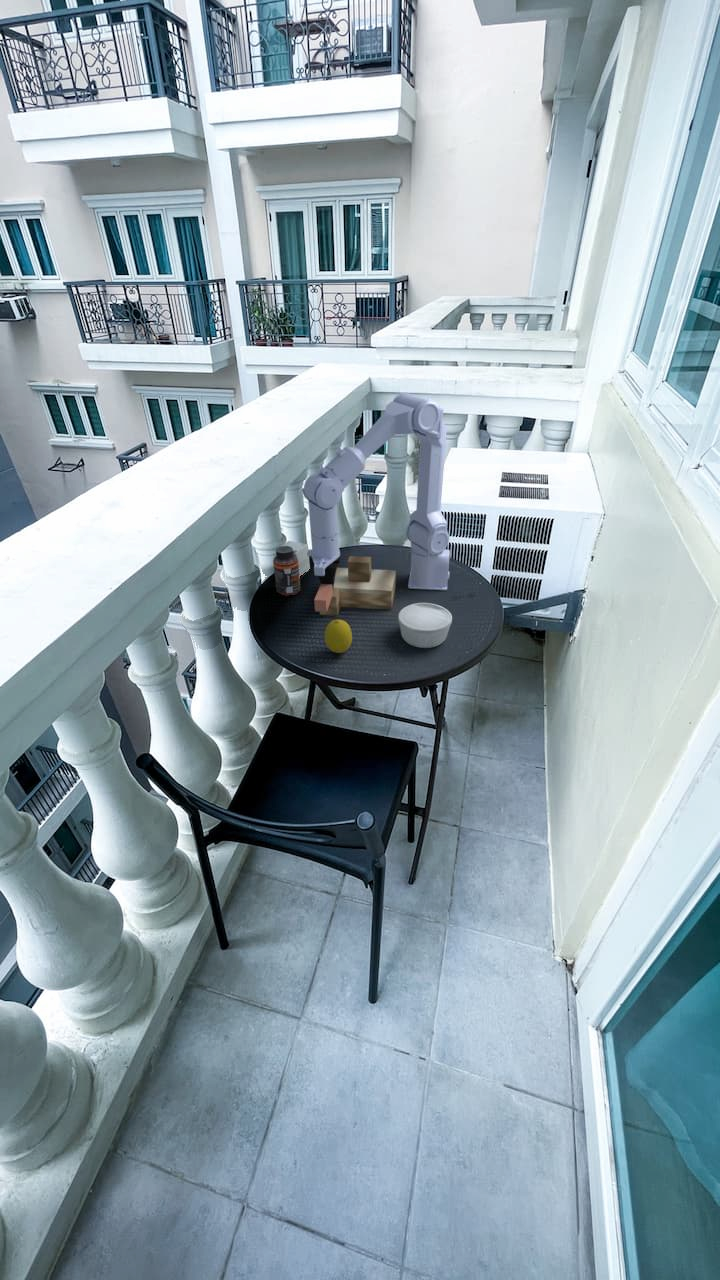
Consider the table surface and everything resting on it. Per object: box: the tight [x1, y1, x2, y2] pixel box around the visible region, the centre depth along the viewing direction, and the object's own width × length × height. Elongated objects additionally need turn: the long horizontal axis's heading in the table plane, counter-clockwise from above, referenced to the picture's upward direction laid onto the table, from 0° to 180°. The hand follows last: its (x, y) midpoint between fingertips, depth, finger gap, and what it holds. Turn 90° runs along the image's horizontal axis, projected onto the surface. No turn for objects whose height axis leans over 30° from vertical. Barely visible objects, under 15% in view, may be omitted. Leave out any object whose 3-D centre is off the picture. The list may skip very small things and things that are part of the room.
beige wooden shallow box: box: [319, 575, 397, 617], centre depth 128 cm, size 16×14×5 cm
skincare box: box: [281, 540, 311, 577], centre depth 140 cm, size 6×6×7 cm
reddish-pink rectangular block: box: [313, 583, 333, 613], centre depth 118 cm, size 2×7×3 cm, turn 172°
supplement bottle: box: [272, 545, 301, 597], centre depth 131 cm, size 6×6×11 cm
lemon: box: [324, 619, 353, 654], centre depth 110 cm, size 6×6×8 cm
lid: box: [334, 555, 397, 595], centre depth 127 cm, size 16×10×6 cm, turn 82°
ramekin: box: [397, 602, 453, 649], centre depth 115 cm, size 11×11×5 cm
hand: (328, 589), depth 122 cm, fingers closed
